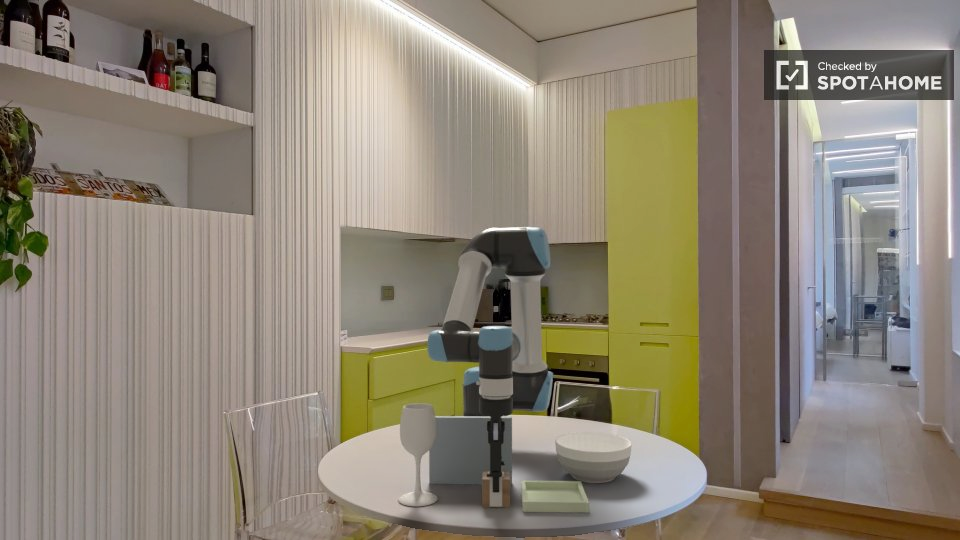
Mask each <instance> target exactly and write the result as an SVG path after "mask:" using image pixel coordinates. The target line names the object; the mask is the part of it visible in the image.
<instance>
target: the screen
mask: <svg viewBox="0 0 960 540" xmlns="http://www.w3.org/2000/svg"><path fill="white" fill-rule="evenodd" d="M435 419H436V439H435V443H434V445H433V446H432V448H431V449H430V450H429V451H428V452H429V453H428V454H429V456H428V461H429V462H428V463H429V465H428V470H429V471H428V477H429V478H428V479H429V480H428V481H429V485H482V476H483V471H490V444H489V443H488V431H487V421H490V419H491V417H490V416H463V415H460V416H459V415H458V416H457V415H453V416H452V415H444V416H443V415H442V416H441V415H435ZM501 419H502V421H505V431H504V443H503V444H502V445H501V456H502V459H501V461H505V465H501V466H502V471H509V474H510V486H512V485H513V417H512V416H502V417H501Z"/></svg>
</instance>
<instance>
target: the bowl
mask: <svg viewBox="0 0 960 540" xmlns="http://www.w3.org/2000/svg"><path fill="white" fill-rule="evenodd" d="M554 443H555V452H556V456H557V459H558V462H559V464H560V465H561V467H562V468H563V470H564V471H566V472H567V473H568V474H570V476H571V477H572V478H573V479H575V481H581V483H582V482H583V483H589V484H602V483H603V484H604V483H605V484H606V483H609V482H612V481H614V480H615V479H616V477H618V476H619V475H621V474H622V473H624V470H625V469H626V468H627V467H628V465H629V462H630V460H631V459H630V458H631V455H632V441H630V440H629V439H627V438H626V437H623V436H620V435H615V434H612V433H604V432H594V431H593V432H592V431H591V432H590V431H589V432H588V431H585V432H584V431H579V432H570V433H565V434H562V435H559V436H557V437H556V438H555V442H554Z"/></svg>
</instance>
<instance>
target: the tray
mask: <svg viewBox="0 0 960 540" xmlns="http://www.w3.org/2000/svg"><path fill="white" fill-rule="evenodd" d="M520 493H521V494H520V495H521V507H522V512H523V513H585V514H586V513H590V501H589V499H588V497H587V494H586V492H585V489H584V486H583V483H582V481H579V480H520Z"/></svg>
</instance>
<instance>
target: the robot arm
mask: <svg viewBox="0 0 960 540" xmlns="http://www.w3.org/2000/svg"><path fill="white" fill-rule="evenodd" d="M550 250H551V249H550V244H549V239H548V235H547V233H546V231H545V229H543V228H541V227H534V226H519V227H516V226H515V227H491V228H488V229H487V228H486V229H484V230H483V231H481V232H479V233H477V234H476V235H474V236H473V237H472V238H471V239H470V240H469V241H468V242H467V243H466V244H465V245H464V247H463V248H462V250H461V252H460V255H459V258H458V261H457V265H458V268H459V270H458V273H457V278H456V280H455V284H454V287H453V290H452V293H451V297H450V299H449V304H448V306H447V311H446V314H445V317H444V320H443V324H442V327H441V329H436V330H431V332H430V333H429V335H428V338H427V344H426V346H427V347H426V348H427V354H428V357H429V358H430V360H432V361H433V362H441V363H442V362H443V363H453V362H454V363H478V366H475V367H474V366H473V367H470V368H468V369H465V372H464V373H463V379H462V381H463V382H462V383H463V384H462V391H463V392H462V399H463V400H462V402H463V404H462V405H463V406H462V409H463V410H462V411H463V413H462V414H463V415H462V416H490V417H491V419H490V421H487V431H488V443H489V444H490V472H489V474H487V477H490V507H489V508H503V507H502V473H501V471H502V466H501V465H505V461H501V459H502V456H501V445H502V444H503V443H504V431H505V421H502V419H501V417H509V416H511V415H512V414H513V411H517V412H518V411H519V412H531V413H533V412H534V413H535V412H545V411H547V410H548V408H549V406H550V400H551V396H552V388H553V381H554V380H553V375H554V372H552V371H549V370H548V364H547V363H546V362H545V361H544V360H543V349H542V348H543V347H542V346H543V345H542V340H543V339H542V338H543V337H542V309H541V308H542V305H541V304H542V303H541V302H542V301H541V300H542V299H541V280H542V278H543V277H544V276H545V275H546V269H549V268H550V267H551V263H552V262H551V251H550ZM492 269H504V276H505V277H506V278H508V279H509V281H510V307H511V309H510V310H511V311H510V312H511V327H509V326H507V325H506V326H505V325H487V326H482V327H481V328H480V329H479V330H475V331H474V330H473V328H474V324H475V321H476V318H477V313H478V310H479V309H478V308H479V305H480V301H481V297H482V294H483V293H482V292H483V291H484V290H483V289H484V285H485V282H486V277H488V275H490V273H491V272H492Z"/></svg>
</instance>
